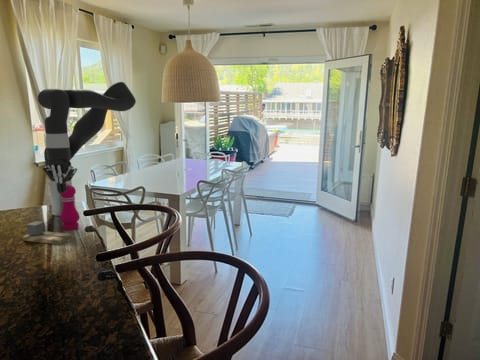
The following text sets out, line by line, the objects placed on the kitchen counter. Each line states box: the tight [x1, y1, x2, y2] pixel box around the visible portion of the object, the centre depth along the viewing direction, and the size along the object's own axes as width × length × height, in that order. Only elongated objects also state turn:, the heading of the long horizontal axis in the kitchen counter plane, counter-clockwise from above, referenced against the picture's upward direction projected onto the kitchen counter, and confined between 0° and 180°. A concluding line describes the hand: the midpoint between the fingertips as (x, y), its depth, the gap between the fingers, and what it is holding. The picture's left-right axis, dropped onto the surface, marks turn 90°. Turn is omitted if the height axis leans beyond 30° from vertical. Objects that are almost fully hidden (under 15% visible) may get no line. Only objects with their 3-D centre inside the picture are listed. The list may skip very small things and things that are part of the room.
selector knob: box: [26, 220, 46, 235], centre depth 135 cm, size 4×4×4 cm
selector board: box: [22, 230, 73, 245], centre depth 135 cm, size 16×7×2 cm, turn 78°
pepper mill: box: [59, 182, 80, 231], centre depth 146 cm, size 7×7×20 cm
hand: (62, 192), depth 130 cm, fingers closed
